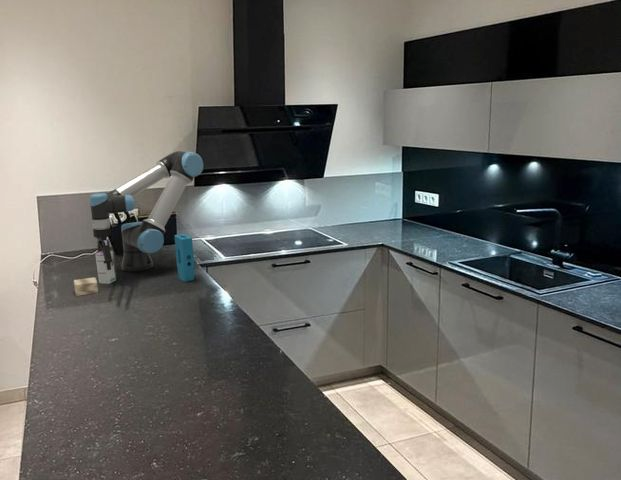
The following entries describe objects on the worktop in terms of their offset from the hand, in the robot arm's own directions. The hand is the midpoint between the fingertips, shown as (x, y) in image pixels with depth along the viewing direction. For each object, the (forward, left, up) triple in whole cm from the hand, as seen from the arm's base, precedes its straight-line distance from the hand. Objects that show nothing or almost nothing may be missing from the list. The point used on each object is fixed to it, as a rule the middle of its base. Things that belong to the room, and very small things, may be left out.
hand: (106, 273), depth 266 cm
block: (-32, +17, -4) cm, 37 cm away
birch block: (+11, +10, -5) cm, 15 cm away
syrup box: (0, 0, -4) cm, 4 cm away
